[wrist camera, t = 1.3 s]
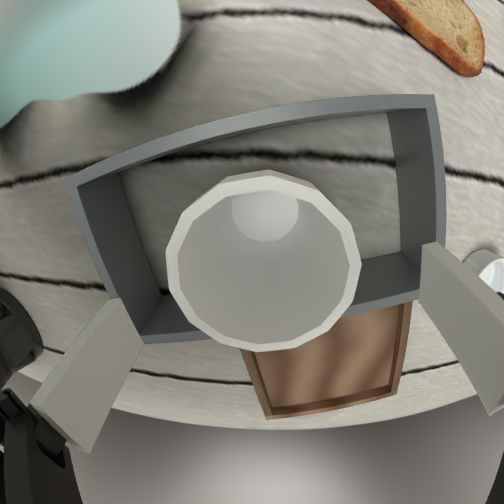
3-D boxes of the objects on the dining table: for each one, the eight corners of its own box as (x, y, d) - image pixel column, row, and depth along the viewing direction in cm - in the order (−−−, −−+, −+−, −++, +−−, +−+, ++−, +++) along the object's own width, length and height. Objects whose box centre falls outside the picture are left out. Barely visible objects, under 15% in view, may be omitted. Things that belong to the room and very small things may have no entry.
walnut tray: (266, 406, 36) (266, 419, 34) (232, 305, 29) (229, 319, 27) (391, 382, 34) (396, 394, 31) (404, 272, 27) (413, 283, 24)
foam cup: (337, 207, 24) (394, 273, 12) (269, 274, 27) (268, 374, 15) (260, 135, 22) (252, 130, 10) (193, 211, 25) (133, 279, 13)
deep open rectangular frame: (157, 304, 30) (134, 344, 23) (108, 166, 24) (65, 178, 17) (408, 258, 26) (440, 292, 19) (394, 102, 20) (433, 95, 13)
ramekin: (449, 257, 26) (469, 274, 22) (496, 235, 24) (517, 248, 20) (447, 315, 29) (462, 334, 25) (492, 291, 27) (508, 307, 23)
